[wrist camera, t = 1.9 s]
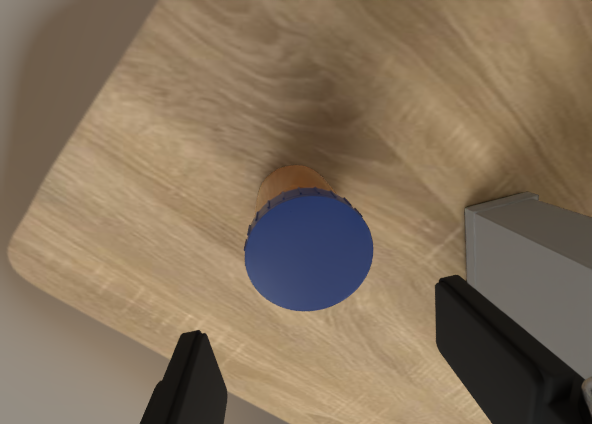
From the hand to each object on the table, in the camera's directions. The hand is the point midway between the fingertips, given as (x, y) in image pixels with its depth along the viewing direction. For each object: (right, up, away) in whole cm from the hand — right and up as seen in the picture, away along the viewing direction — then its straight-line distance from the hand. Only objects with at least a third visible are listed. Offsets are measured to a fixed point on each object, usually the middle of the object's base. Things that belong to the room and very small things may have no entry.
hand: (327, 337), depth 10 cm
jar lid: (0, +2, +5) cm, 6 cm away
